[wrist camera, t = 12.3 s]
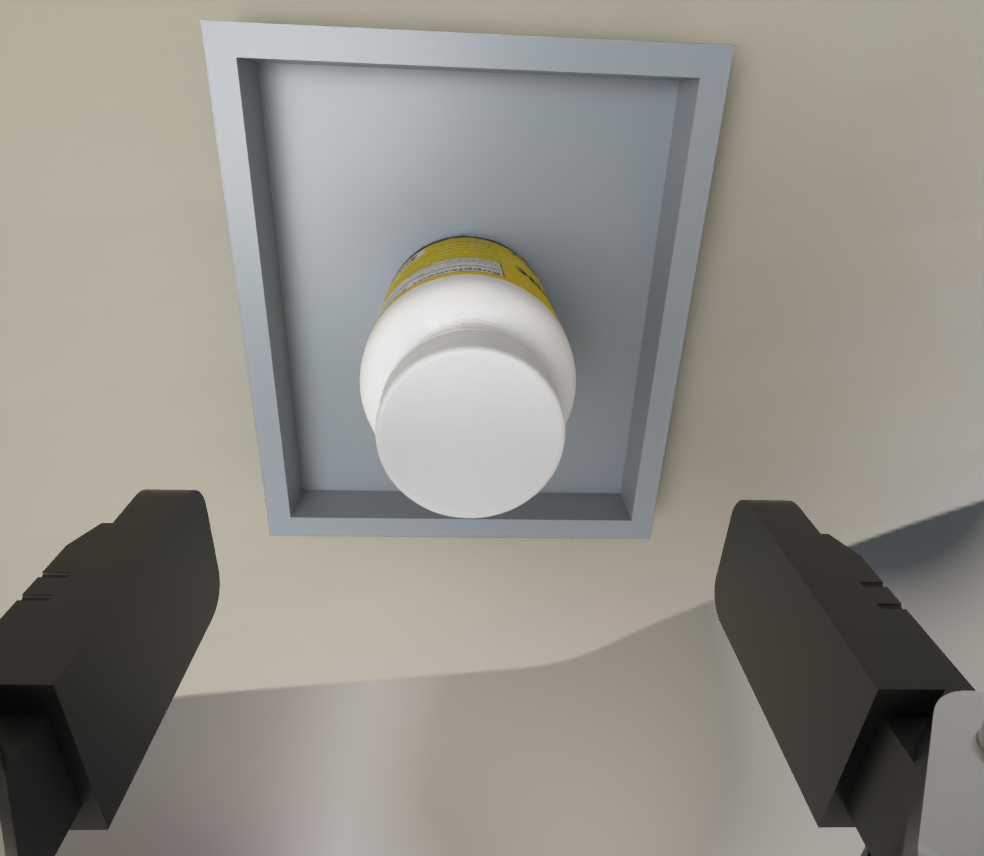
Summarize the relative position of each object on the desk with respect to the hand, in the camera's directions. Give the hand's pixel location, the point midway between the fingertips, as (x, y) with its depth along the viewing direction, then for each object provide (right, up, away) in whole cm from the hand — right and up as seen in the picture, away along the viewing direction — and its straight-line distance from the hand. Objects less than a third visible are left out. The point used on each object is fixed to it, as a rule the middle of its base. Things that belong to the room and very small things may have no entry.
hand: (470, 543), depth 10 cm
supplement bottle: (-1, +6, +12) cm, 14 cm away
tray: (-1, +6, +13) cm, 14 cm away
